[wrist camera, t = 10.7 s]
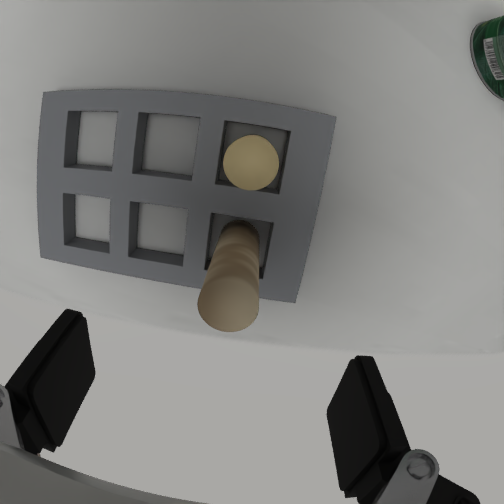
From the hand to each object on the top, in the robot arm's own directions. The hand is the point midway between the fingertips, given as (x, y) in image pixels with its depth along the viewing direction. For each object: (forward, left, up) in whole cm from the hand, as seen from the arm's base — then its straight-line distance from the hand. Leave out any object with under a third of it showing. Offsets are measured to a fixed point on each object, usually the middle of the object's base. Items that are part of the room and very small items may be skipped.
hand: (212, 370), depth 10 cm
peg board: (+2, -6, -15) cm, 17 cm away
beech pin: (0, +1, -15) cm, 15 cm away
